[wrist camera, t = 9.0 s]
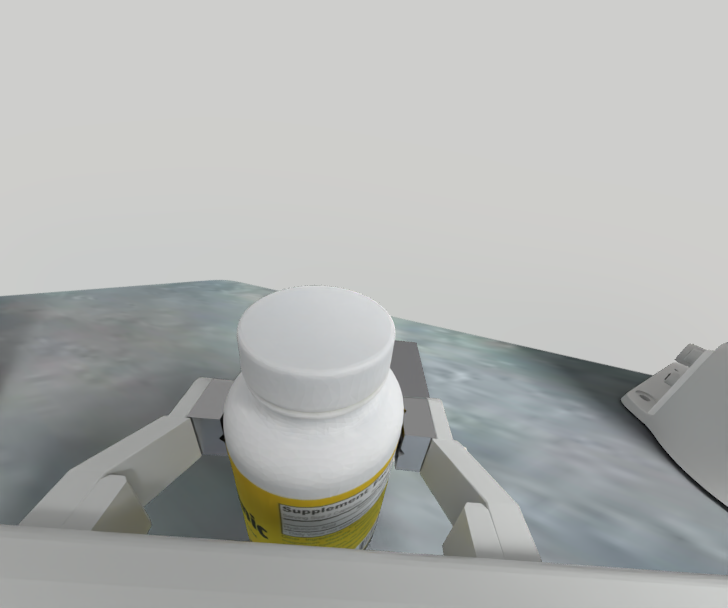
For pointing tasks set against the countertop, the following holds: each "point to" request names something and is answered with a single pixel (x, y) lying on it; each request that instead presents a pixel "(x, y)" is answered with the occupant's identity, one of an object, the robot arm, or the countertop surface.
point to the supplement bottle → (313, 416)
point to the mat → (408, 369)
